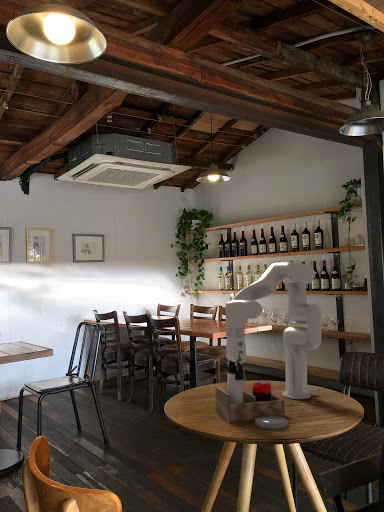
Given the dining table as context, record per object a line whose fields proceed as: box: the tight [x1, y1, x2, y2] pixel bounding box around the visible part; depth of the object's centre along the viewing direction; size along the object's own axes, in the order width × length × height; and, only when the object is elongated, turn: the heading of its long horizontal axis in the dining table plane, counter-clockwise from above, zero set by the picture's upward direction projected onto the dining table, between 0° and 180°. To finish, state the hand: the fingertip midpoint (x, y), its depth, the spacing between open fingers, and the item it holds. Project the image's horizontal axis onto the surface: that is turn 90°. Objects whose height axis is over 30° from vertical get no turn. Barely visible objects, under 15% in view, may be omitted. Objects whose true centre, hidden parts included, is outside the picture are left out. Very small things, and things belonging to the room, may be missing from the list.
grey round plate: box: [254, 415, 289, 431], centre depth 159 cm, size 12×12×2 cm
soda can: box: [251, 380, 272, 402], centre depth 174 cm, size 8×8×12 cm
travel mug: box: [226, 365, 244, 405], centre depth 171 cm, size 6×7×20 cm
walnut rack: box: [215, 386, 286, 423], centre depth 172 cm, size 24×13×10 cm, turn 108°
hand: (235, 377), depth 171 cm, fingers closed on travel mug, 6 cm apart
